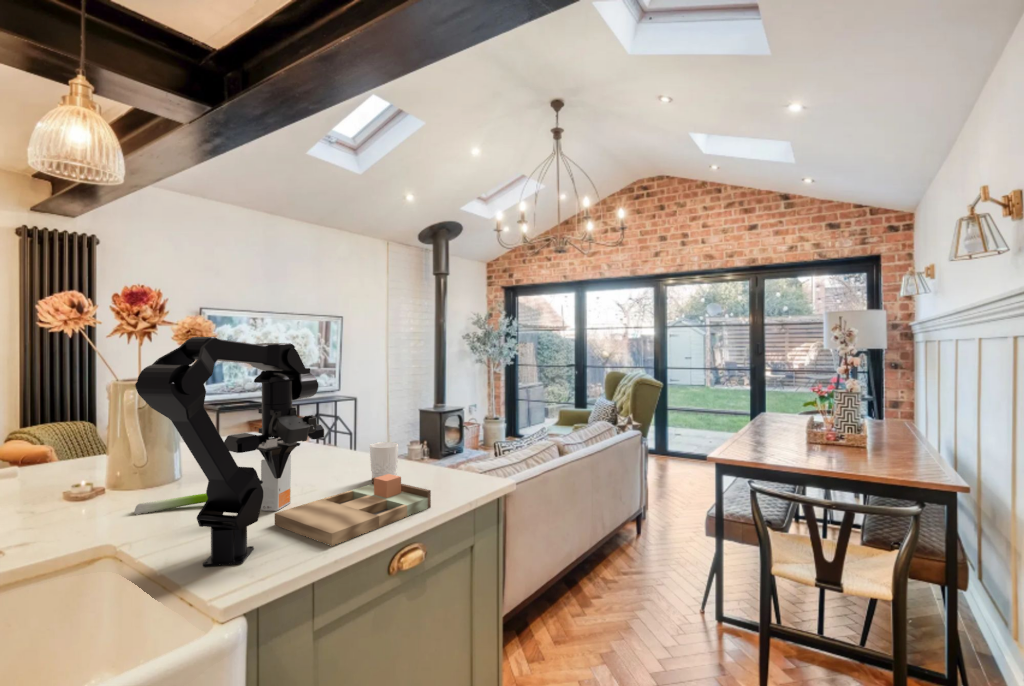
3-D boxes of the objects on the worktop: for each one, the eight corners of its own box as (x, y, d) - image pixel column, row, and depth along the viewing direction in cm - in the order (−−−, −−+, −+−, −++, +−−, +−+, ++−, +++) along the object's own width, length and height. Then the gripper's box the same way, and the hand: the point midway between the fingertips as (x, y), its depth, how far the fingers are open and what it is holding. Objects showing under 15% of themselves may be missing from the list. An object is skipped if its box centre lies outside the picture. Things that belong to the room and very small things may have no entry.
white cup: (364, 482, 137) (364, 446, 137) (379, 475, 145) (379, 441, 145) (389, 484, 135) (389, 448, 135) (403, 477, 142) (403, 442, 142)
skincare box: (277, 511, 114) (277, 459, 114) (260, 511, 114) (260, 459, 114) (291, 502, 120) (291, 454, 120) (275, 502, 120) (274, 453, 120)
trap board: (331, 546, 94) (331, 525, 94) (274, 524, 105) (274, 506, 105) (430, 507, 116) (430, 490, 116) (374, 492, 128) (374, 477, 128)
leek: (144, 516, 117) (281, 493, 126) (132, 530, 110) (277, 505, 119) (140, 492, 116) (278, 471, 125) (128, 505, 109) (275, 482, 118)
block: (386, 498, 115) (386, 481, 115) (374, 494, 118) (374, 478, 118) (401, 493, 119) (401, 476, 119) (388, 490, 122) (388, 473, 121)
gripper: (252, 411, 89) (253, 496, 90) (339, 401, 105) (340, 473, 105) (222, 407, 96) (223, 486, 96) (309, 397, 111) (309, 466, 111)
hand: (277, 478), depth 102 cm, fingers closed
